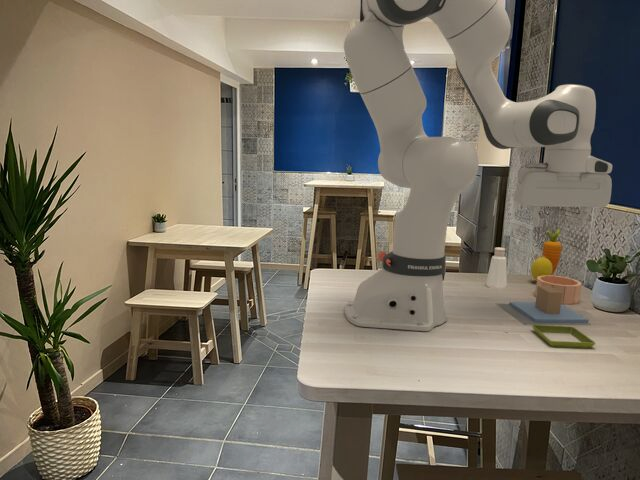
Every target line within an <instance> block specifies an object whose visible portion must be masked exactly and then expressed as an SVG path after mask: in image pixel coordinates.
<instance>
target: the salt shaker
mask: <svg viewBox="0 0 640 480" xmlns="http://www.w3.org/2000/svg"><path fill="white" fill-rule="evenodd" d="M505 253H506V248H504V247H499V246H498V247H494V255H492V256H491V258H490V265H489V268H488V269H489V270H488V272H487V273H488V275H487V278H486V283H485V286H487V288H492V289H493V288H494V289H505V288H508V287H507V257H506V256H505Z"/></svg>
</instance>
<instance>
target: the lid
mask: <svg viewBox="0 0 640 480" xmlns="http://www.w3.org/2000/svg"><path fill="white" fill-rule="evenodd" d="M535 297H536V298H535V301H509V303H508V304H509V305H510V306H512V307H513V308H514V309H516V310H517V311H519V312H520V313H522V314H523V315H525V316H526V317H528V318H529V319H530V320H532V321H533V322H535V323H589V319H588V318H586V317H585V316H583V315H581V314H579V313H578V312H576V311H575V310H573V309H571V308H568V307H567V306H565V305H564V304H561V300H562V292H560V291H558V290H556V289H554V288H552V287H551V286H538V288H537V296H535Z"/></svg>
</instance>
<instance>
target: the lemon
mask: <svg viewBox="0 0 640 480" xmlns="http://www.w3.org/2000/svg"><path fill="white" fill-rule="evenodd" d="M552 270H553V268H552V263H551V262H550V261H549V260H548V259H547V258H545V257H544V256H543V255H542V256H541V257H537V258H536V259H535V260H534V261H533V263H532V264H531V268H530V272H531V276H532V278H533V279H534V281H537V277H538V276H543V275H552Z"/></svg>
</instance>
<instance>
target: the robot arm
mask: <svg viewBox="0 0 640 480" xmlns="http://www.w3.org/2000/svg"><path fill="white" fill-rule="evenodd" d="M425 18H428V19H430V20H431V21H432V22H433V23H434V24H435V25H436V26H437V28H438V29H439V32H441V35H442V36H443V38H444V39H445V40H446V42H447V43H448V45H449V47H450V48H451V50H452V53H453V56H454V57H455V65H456V69H457V72H458V74H459V78H460V79H461V81H462V84H463V86H464V88H465V89H466V91H467V93H468V95H469V97H470V99H471V101H472V103H473V104H474V107H475V108H476V110H477V112H478V114H479V116H480V118H481V122H482V126H483V130H484V134H485V137H486V139H487V141H488V142H489V143H490V144H491V145H492V146H493V147H494V148H497V149H499V150H509V149H517V148H544V155H543V163H542V162H540V163H539V162H538V163H533V162H526V163H525V164H523V165H521V166H520V168H518V172H517V183H516V186H515V191H514V197H513V200H514V202H515V204H516V205H518V206H523V207H529V208H528V211H529V212H530V213H529V214H530V215H531V217H532V226H533V227H535V228H543V227H544V221H545V219H544V218H541V217H540V215H539V212H541V207H553V208H554V207H560V208H561V207H564V208H565V207H567V208H570V207H571V208H572V207H573V208H579V211H580V214H579V215H578V216H577V218H573V225H572V226H573V227H574V228H584V227H585V221H586V220H587V219H588V217H589V216H590V215H591V214H592V210H593V209H592V208H607V206H608V205H609V204H610V202H611V196H612V187H613V185H612V184H613V183H612V178H611V176H610V175H609V174H611V173H612V170H613V164H612V163H610V162H608V161H605V160H603V159H601V158H597V157H595V156H593V155H591V153H592V146H591V138H592V134H593V132H594V130H595V122H596V113H597V112H596V110H597V100H596V94H595V90H594V89H592V88H591V87H589V86H588V85H583V84H575V83H566V84H561V85H558V86H557V87H555V89H554V91H552V92H551V93H548V94H547V95H544V96H543V97H540V98H537V99H532V100H528V101H519V102H517V101H516V102H515V101H513V100H511V99H508V98H507V97H506V96H505V95H504V92H503V91H502V88H501V86H500V84H499V82H498V80H497V78H496V76H495V74H494V72H493V67H492V65H493V61H494V60H495V59H496V58H497V57H498V56H499V55H500V53H501V52H502V51H503V50H504V49H505V47H506V45H507V44H508V41H509V38H510V35H511V30H512V29H511V28H512V25H511V21H510V17H509V15H508V12H507V10H506V8H505V7H504V5H503V3H502V2H501V0H360V9H359V22H358V23H357V24H356V25H355V26H353V27H352V29H350V31H349V32H348V34H346V37H345V38H344V42H343V51H344V54H345V59H346V62H347V65H348V69H349V72H350V74H351V77H352V79H353V82H354V84H355V87H356V88H357V91H358V93H359V94H360V96H361V99H362V101H363V103H364V105H365V107H366V109H367V111H368V113H369V116H370V118H371V120H372V122H373V124H374V127H375V129H376V132H377V137H378V142H379V147H380V148H379V149H380V152H379V155H378V159H377V167H378V172H379V173H380V176H381V177H382V178H383V179H384V180H385V181H387V182H389V183H391V184H393V185H395V186H397V187H398V188H404V189H405V188H406V189H410V190H409V194H408V197H407V200H406V202H405V205H404V207H403V208H402V209H401V210H400V211H399V212H398V213H397V214H396V215H395V217H394V219H393V222H394V223H393V237H392V238H393V239H392V251H390V252H389V253H386V252H385V251H383V250H381V251H379V252H378V253H377V258H378V260H379V261H380V262H382V268H380V270H378V271H376V272H375V273H374V274H372V275H371V276H370V277H369V276H368V278H367V279H365V280H363V281H362V282H360V284H359V285H358V287H357V289H356V291H355V292H356V293H355V297H354V301H348V302H347V303H346V304H345V306H344V309H343V310H344V312H343V313H344V316H345V318H346V319H347V321H349V322H350V323H351V324H353V325H355V326H356V327H364V328H377V329H391V330H402V331H403V330H405V331H406V330H407V331H419V332H430V331H431V330H433V328H434V327H437V326H440V325H443V324H444V323H446V321H447V319H448V318H447V314H446V308H445V302H444V284H443V283H444V281H445V275H446V268H447V261H446V259H447V256H446V254H445V249H446V240H447V239H446V238H447V230H448V229H447V228H448V222H449V220H450V219H449V218H450V215H451V212H452V210H453V207H454V205H455V203H456V201H457V199H458V198H459V197H460V195H461V194H462V193H463V191H464V190H466V189H467V188H469V186H470V185H472V184H473V182H474V181H475V179H476V177H477V175H478V171H479V165H480V164H479V162H480V161H479V157H478V153H477V150H476V149H475V147H474V146H473V145H472V144H470V143H469V142H467V141H465V140H462V139H459V138H455V137H451V136H428V135H427V134H426V132H425V130H424V125H423V115H424V112H425V111H426V108H427V98H426V96H425V93H424V90H423V88H422V86H421V84H420V81H419V79H418V76H417V74H416V72H415V69H414V68H413V65H412V63H411V60H410V58H409V57H408V54H407V52H406V50H405V45H404V42H403V32H404V29H405V26H406V25H411V24H415V23H417V22H419V21H422V20H424V19H425Z"/></svg>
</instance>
